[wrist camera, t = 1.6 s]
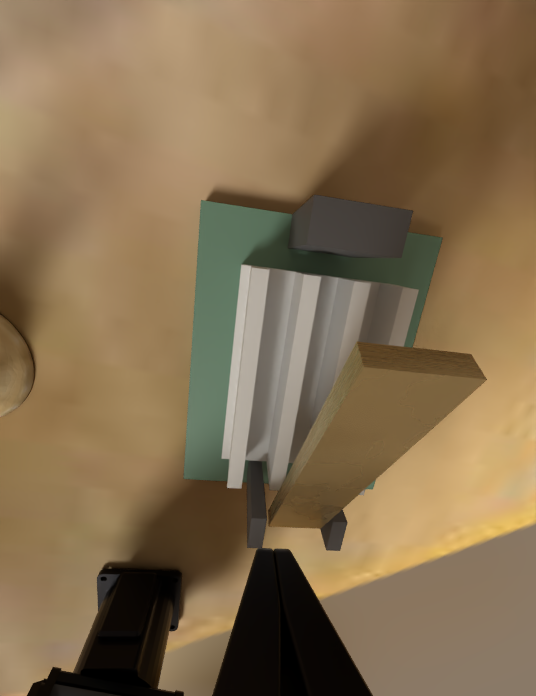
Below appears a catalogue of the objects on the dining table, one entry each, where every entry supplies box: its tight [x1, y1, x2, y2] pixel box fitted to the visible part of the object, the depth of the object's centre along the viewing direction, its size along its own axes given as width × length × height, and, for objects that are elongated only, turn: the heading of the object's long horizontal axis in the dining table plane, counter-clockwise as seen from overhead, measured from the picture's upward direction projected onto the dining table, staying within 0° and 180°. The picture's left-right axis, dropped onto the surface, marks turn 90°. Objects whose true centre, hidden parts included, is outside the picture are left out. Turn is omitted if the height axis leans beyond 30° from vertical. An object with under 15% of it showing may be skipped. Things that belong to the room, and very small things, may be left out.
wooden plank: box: [268, 342, 487, 529], centre depth 12 cm, size 14×3×1 cm
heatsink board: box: [184, 195, 443, 551], centre depth 17 cm, size 18×14×6 cm
